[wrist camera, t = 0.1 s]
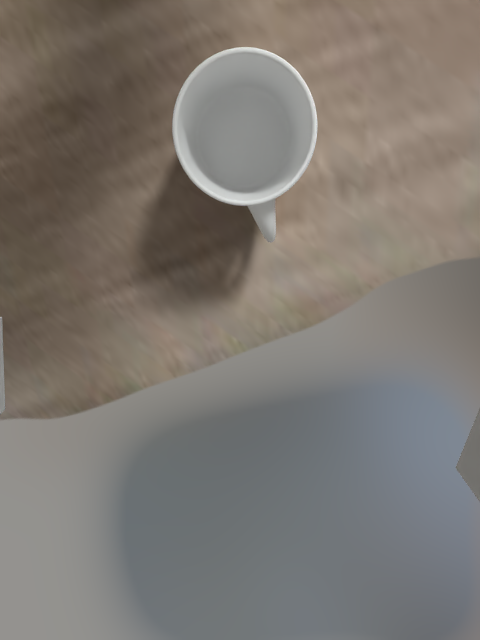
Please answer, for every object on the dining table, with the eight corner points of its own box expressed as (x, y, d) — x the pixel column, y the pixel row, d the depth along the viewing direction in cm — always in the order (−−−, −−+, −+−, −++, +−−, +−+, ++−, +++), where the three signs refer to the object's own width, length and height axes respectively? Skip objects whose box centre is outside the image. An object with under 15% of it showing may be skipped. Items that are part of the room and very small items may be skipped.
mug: (218, 243, 38) (212, 272, 28) (176, 99, 34) (151, 72, 24) (312, 218, 37) (340, 238, 27) (281, 67, 33) (300, 25, 23)
